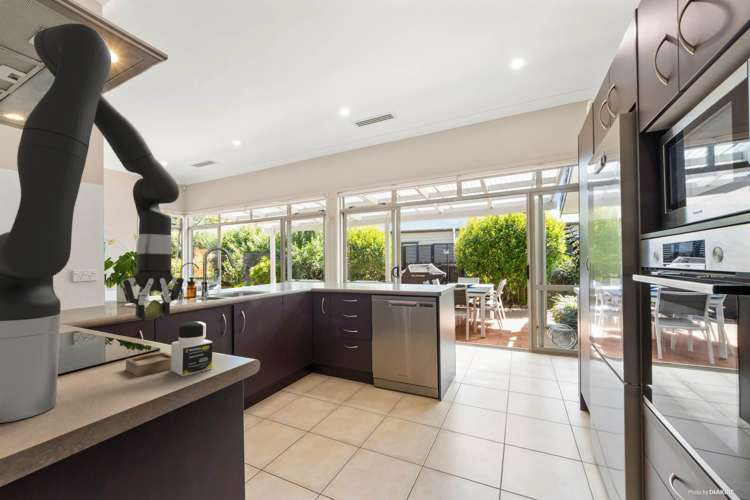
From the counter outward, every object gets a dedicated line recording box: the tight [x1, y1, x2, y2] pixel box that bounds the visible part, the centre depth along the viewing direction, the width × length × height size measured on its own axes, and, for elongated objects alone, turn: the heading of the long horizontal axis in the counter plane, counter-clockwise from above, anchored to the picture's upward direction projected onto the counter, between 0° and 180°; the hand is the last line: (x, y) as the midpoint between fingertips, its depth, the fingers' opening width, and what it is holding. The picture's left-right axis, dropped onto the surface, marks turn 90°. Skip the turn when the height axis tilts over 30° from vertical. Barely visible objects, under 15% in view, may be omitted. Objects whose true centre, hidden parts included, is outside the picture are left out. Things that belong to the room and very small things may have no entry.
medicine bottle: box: [170, 321, 214, 377], centre depth 82 cm, size 7×7×12 cm
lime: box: [144, 299, 163, 321], centre depth 83 cm, size 4×5×5 cm
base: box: [125, 351, 171, 378], centre depth 83 cm, size 8×8×3 cm
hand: (152, 317), depth 83 cm, fingers closed on lime, 4 cm apart
